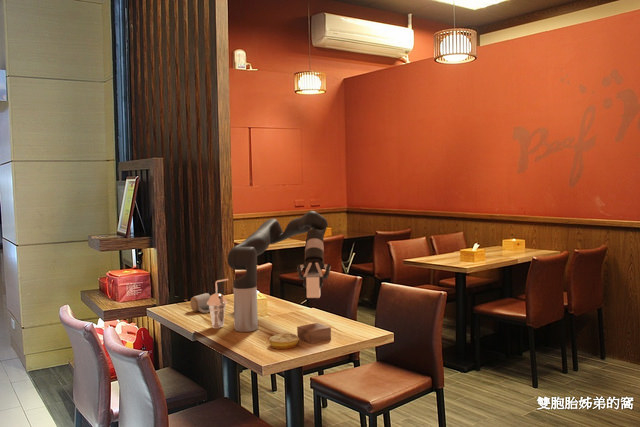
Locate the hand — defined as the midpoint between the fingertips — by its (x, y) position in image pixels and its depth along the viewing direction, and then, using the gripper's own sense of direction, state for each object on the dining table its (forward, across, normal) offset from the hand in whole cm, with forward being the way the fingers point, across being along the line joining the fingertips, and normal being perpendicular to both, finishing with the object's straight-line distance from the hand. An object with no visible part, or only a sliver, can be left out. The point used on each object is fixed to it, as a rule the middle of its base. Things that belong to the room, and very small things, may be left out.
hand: (312, 286), depth 224 cm
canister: (+2, 0, -4) cm, 5 cm away
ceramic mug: (-13, +54, -39) cm, 68 cm away
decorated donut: (+26, +9, 0) cm, 27 cm away
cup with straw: (+7, +40, -18) cm, 45 cm away
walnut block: (+20, -1, -5) cm, 20 cm away
